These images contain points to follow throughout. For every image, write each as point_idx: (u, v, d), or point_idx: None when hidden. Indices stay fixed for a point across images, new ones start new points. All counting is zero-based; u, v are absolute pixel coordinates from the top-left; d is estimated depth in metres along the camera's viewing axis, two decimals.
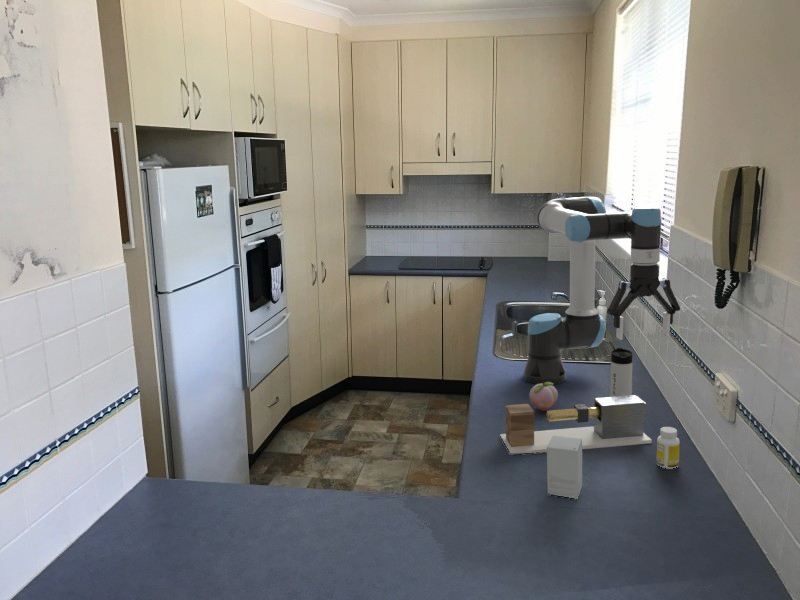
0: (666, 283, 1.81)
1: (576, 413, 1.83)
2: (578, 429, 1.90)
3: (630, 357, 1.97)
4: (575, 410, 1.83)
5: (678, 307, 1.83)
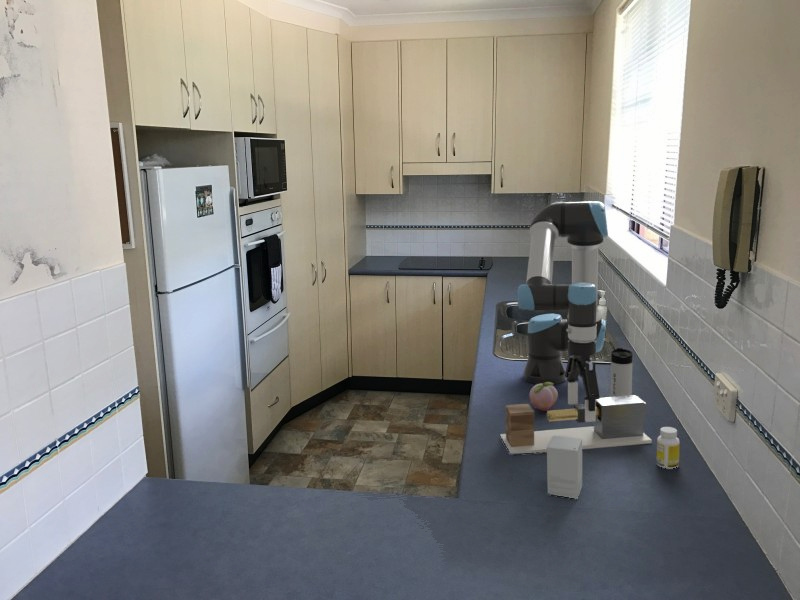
0: None
1: (576, 413, 1.83)
2: (578, 429, 1.90)
3: (630, 357, 1.97)
4: (575, 410, 1.83)
5: (590, 396, 1.73)
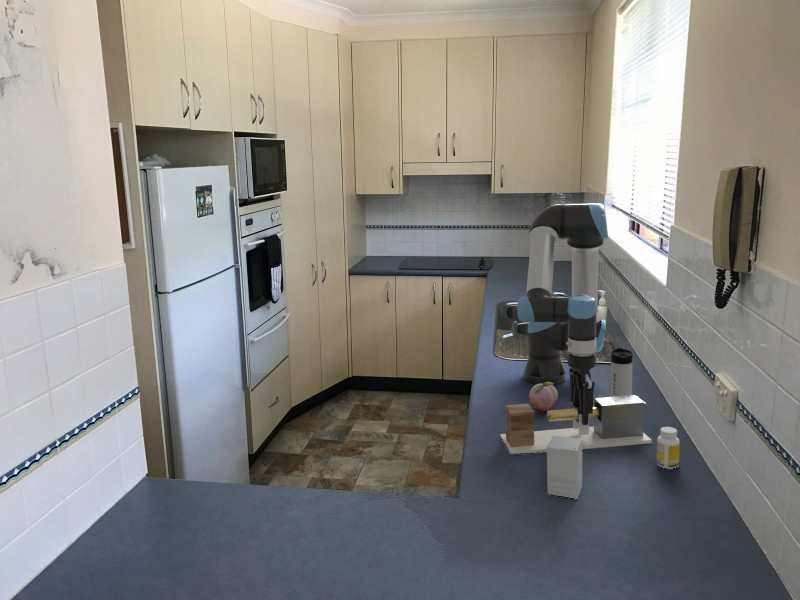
0: (584, 384, 1.77)
1: (576, 413, 1.83)
2: (578, 429, 1.90)
3: (630, 357, 1.97)
4: (575, 410, 1.83)
5: (583, 411, 1.79)
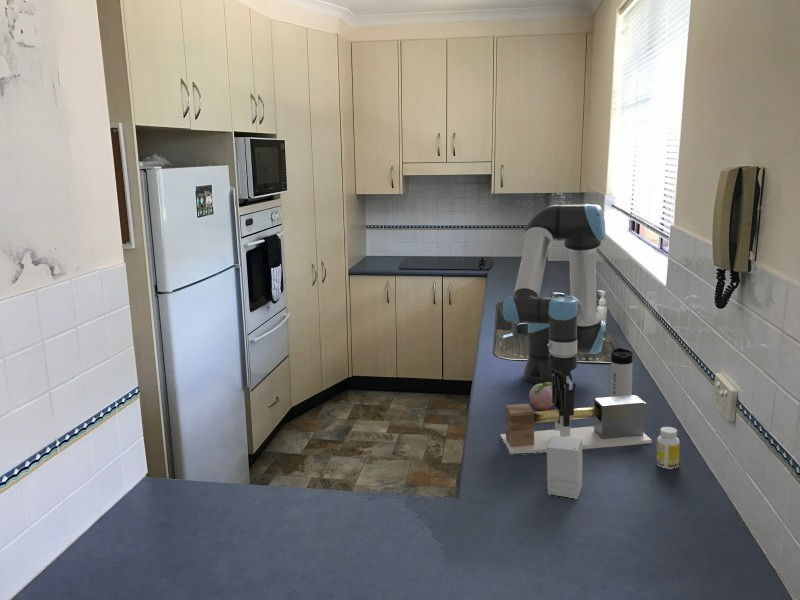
0: None
1: (557, 415, 1.82)
2: (578, 429, 1.90)
3: (630, 357, 1.97)
4: (556, 412, 1.83)
5: (564, 413, 1.78)
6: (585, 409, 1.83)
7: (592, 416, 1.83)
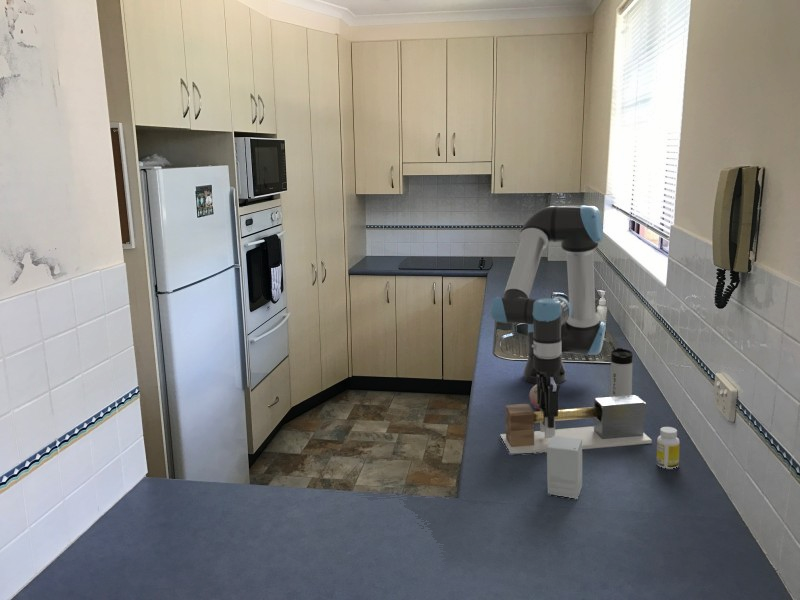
0: None
1: (542, 416, 1.82)
2: (578, 429, 1.90)
3: (630, 357, 1.97)
4: (541, 413, 1.82)
5: (548, 414, 1.78)
6: (570, 410, 1.83)
7: (577, 417, 1.83)
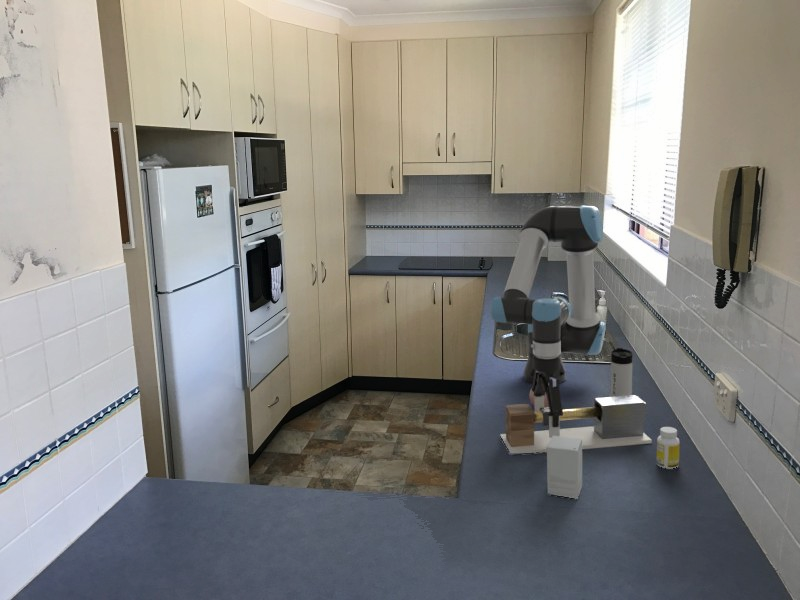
0: None
1: (541, 416, 1.82)
2: (578, 429, 1.90)
3: (630, 357, 1.97)
4: (540, 413, 1.82)
5: (553, 412, 1.73)
6: (569, 410, 1.83)
7: (576, 417, 1.83)
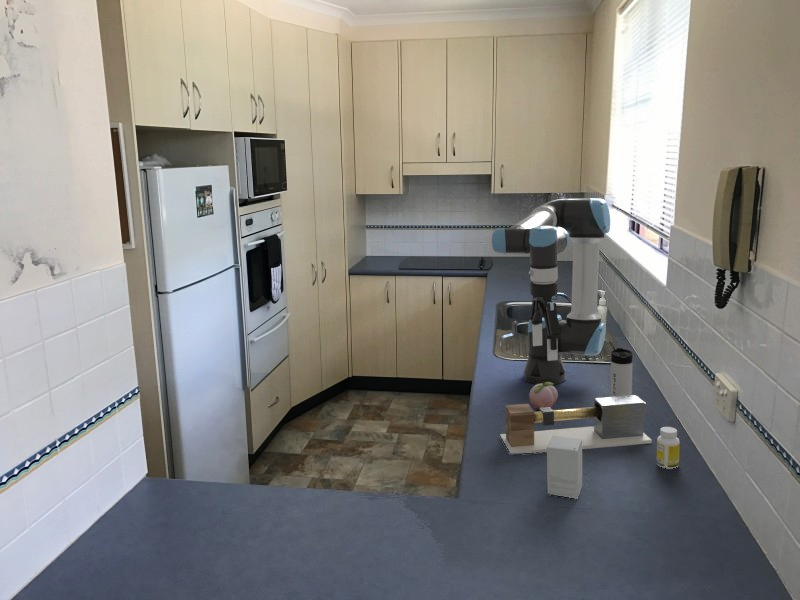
0: None
1: (541, 416, 1.82)
2: (578, 429, 1.90)
3: (630, 357, 1.97)
4: (540, 413, 1.82)
5: (551, 335, 1.78)
6: (569, 410, 1.83)
7: (576, 417, 1.83)
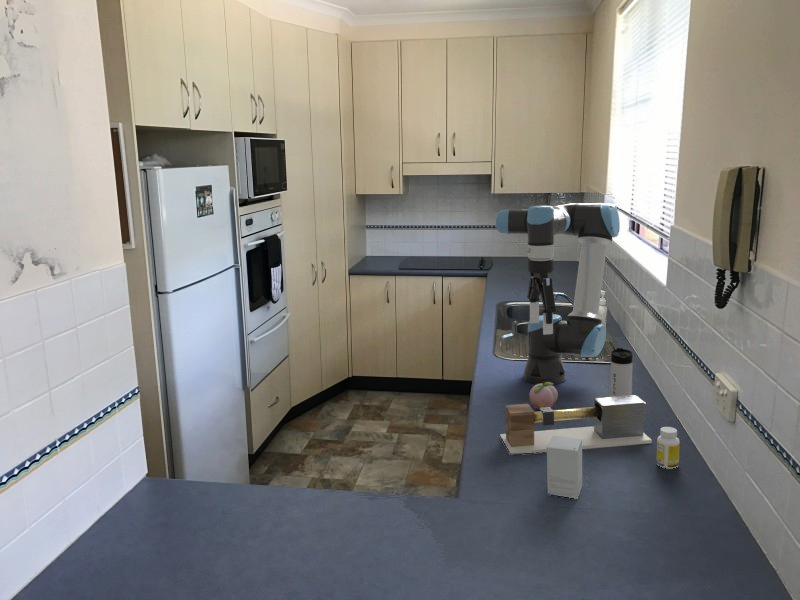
0: None
1: (541, 416, 1.82)
2: (578, 429, 1.90)
3: (630, 357, 1.97)
4: (540, 413, 1.82)
5: (546, 308, 1.86)
6: (569, 410, 1.83)
7: (576, 417, 1.83)
